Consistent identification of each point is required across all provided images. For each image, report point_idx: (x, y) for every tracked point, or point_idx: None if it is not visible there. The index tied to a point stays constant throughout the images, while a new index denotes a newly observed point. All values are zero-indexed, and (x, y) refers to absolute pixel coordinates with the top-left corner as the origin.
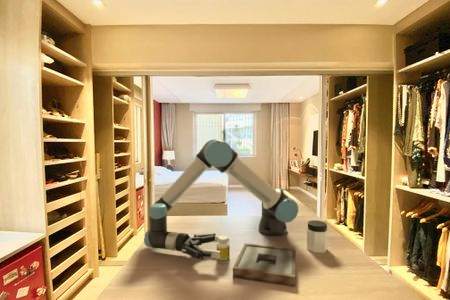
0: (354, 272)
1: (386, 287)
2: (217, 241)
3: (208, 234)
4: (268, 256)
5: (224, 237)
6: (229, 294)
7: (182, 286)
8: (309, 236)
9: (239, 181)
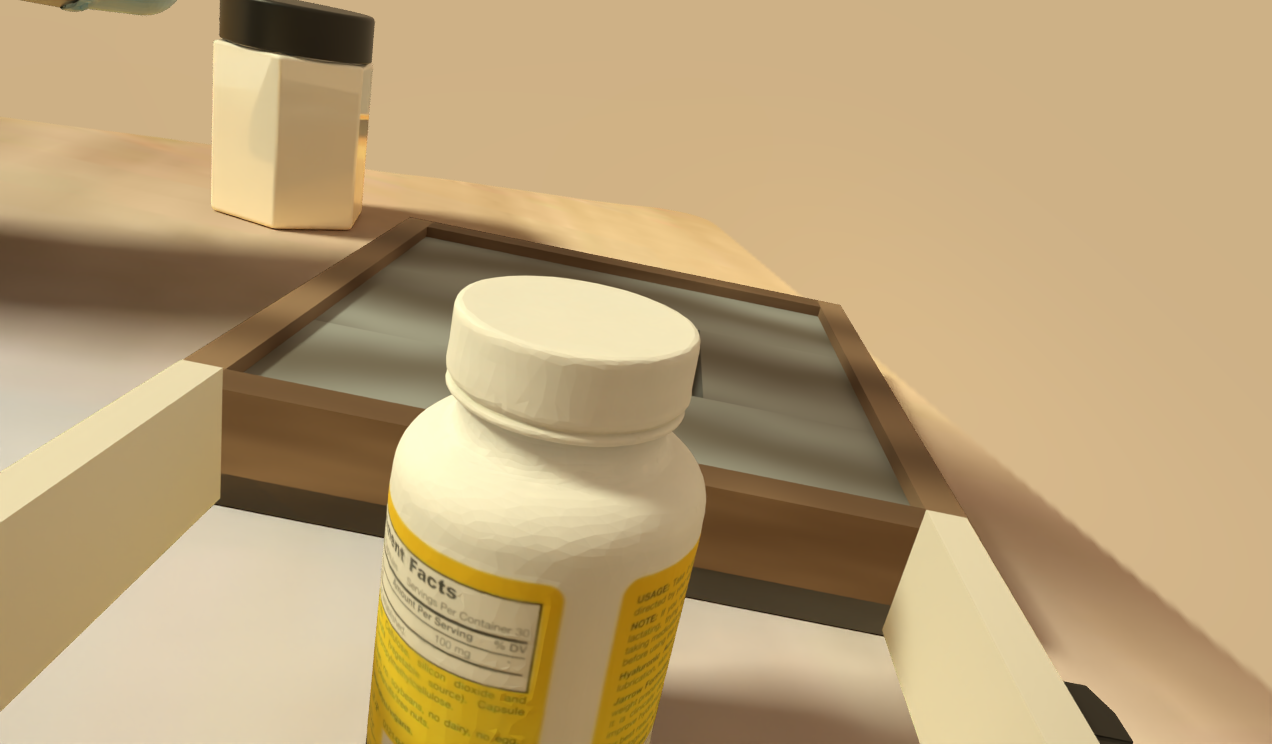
0: (581, 228)
1: (678, 225)
2: (11, 663)
3: None
4: None
5: (565, 301)
6: (1247, 680)
7: None
8: (306, 117)
9: None
